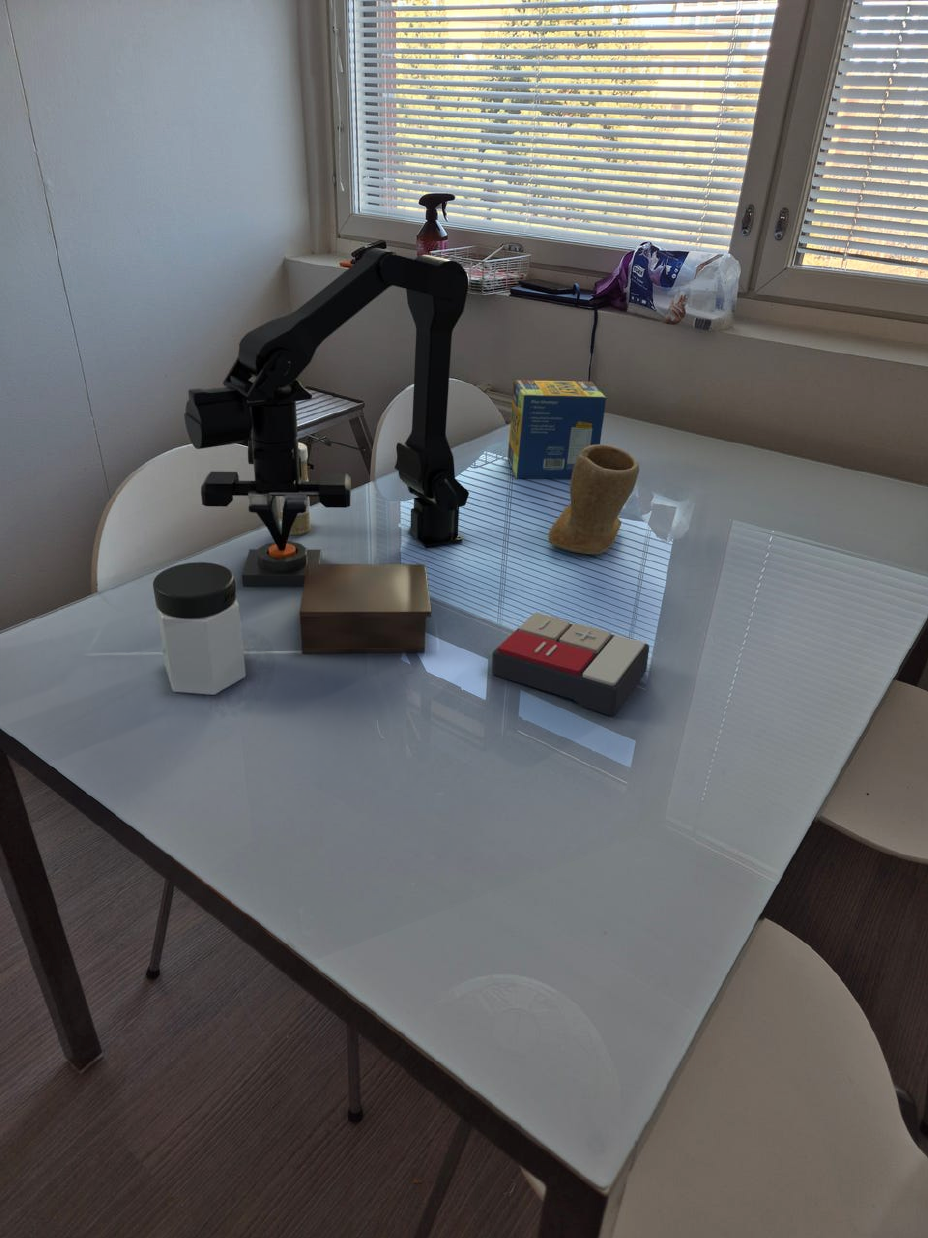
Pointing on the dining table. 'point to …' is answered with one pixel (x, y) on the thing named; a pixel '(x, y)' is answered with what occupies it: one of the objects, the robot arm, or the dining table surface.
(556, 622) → the calculator
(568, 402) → the protein box
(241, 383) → the robot arm
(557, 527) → the stone cup
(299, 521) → the sprinkles bottle
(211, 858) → the dining table surface
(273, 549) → the button
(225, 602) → the jar
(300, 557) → the control block
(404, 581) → the lid
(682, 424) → the dining table surface
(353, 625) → the wooden box
